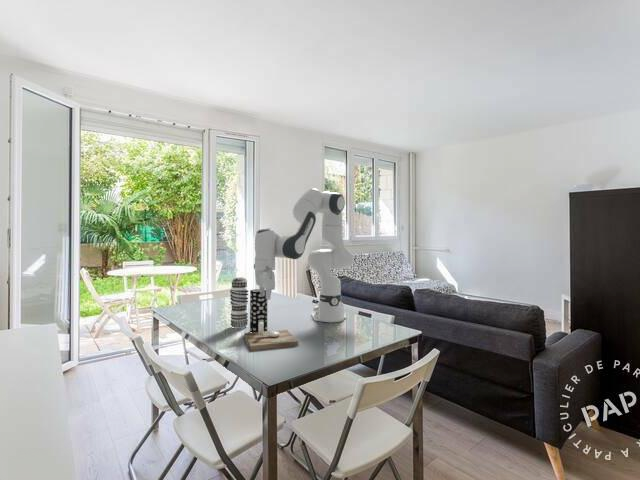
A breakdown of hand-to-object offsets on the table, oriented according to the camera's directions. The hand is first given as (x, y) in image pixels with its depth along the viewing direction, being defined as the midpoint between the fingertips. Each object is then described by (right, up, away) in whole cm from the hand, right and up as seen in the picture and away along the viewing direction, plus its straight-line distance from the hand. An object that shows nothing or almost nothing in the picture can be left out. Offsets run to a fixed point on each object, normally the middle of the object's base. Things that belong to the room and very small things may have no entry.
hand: (265, 297), depth 152 cm
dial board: (+2, -20, +3) cm, 20 cm away
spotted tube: (-6, -20, +18) cm, 28 cm away
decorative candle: (-17, -19, +26) cm, 37 cm away
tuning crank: (+1, -17, +3) cm, 18 cm away
